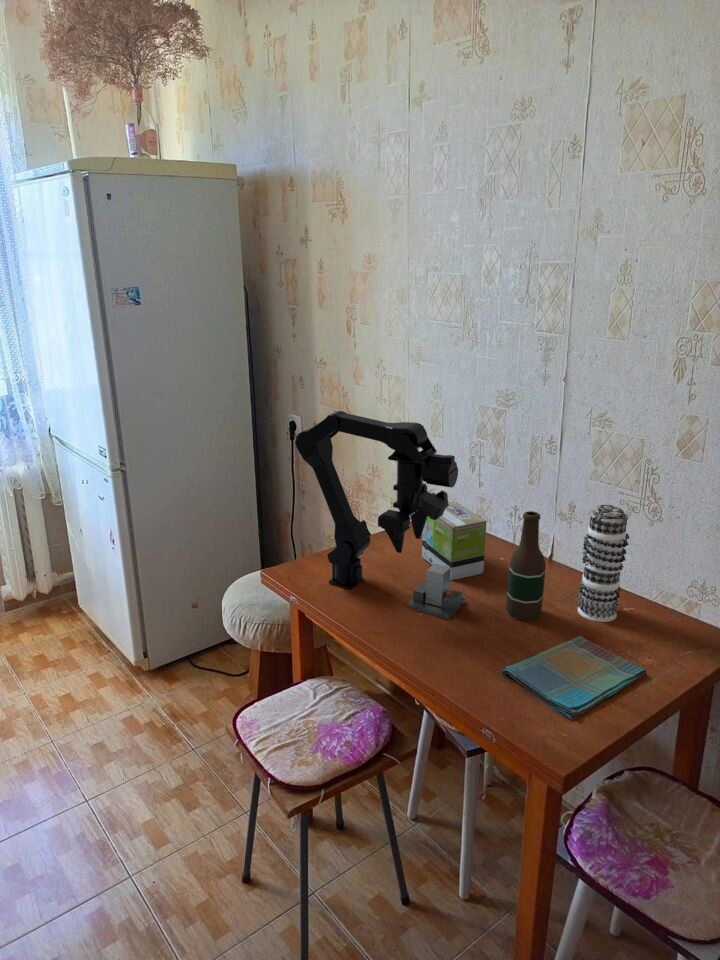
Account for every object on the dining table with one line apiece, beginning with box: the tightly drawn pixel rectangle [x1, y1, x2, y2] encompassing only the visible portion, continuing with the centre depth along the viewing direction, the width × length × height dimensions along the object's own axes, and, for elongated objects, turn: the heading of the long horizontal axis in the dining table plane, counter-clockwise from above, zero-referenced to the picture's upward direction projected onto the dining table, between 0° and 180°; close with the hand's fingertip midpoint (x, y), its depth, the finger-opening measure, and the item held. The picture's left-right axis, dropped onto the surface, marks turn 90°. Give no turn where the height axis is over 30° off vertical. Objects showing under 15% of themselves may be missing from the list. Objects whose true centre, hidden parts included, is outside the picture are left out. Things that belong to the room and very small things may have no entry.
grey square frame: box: [407, 581, 467, 620], centre depth 164 cm, size 10×9×4 cm
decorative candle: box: [577, 504, 630, 623], centre depth 157 cm, size 9×9×25 cm
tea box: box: [421, 501, 487, 581], centre depth 182 cm, size 15×10×15 cm
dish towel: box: [501, 635, 648, 721], centre depth 138 cm, size 17×23×2 cm
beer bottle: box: [505, 511, 546, 622], centre depth 157 cm, size 8×8×24 cm
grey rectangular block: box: [425, 564, 451, 609], centre depth 163 cm, size 4×4×9 cm
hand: (408, 545), depth 164 cm, fingers open, 9 cm apart
